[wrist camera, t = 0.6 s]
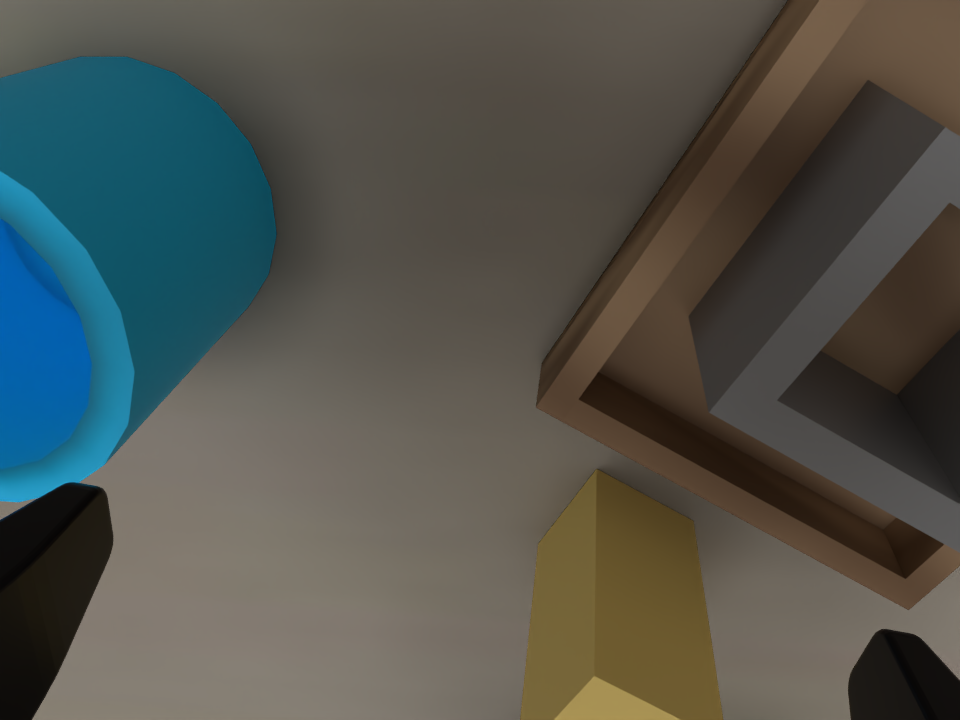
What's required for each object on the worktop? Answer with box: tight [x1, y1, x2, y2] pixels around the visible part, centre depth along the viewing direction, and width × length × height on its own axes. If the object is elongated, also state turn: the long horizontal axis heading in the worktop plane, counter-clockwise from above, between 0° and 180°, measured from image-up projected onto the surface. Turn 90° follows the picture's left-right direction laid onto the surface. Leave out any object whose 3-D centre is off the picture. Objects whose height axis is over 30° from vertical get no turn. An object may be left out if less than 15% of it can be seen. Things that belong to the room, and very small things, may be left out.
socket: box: [688, 80, 960, 553], centre depth 19 cm, size 7×7×5 cm
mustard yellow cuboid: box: [520, 469, 723, 720], centre depth 23 cm, size 4×4×8 cm
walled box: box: [536, 0, 960, 610], centre depth 21 cm, size 14×12×2 cm
